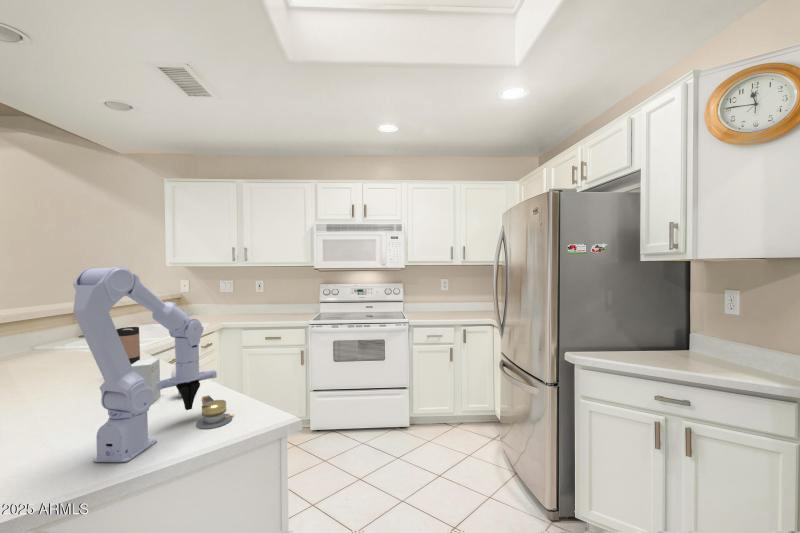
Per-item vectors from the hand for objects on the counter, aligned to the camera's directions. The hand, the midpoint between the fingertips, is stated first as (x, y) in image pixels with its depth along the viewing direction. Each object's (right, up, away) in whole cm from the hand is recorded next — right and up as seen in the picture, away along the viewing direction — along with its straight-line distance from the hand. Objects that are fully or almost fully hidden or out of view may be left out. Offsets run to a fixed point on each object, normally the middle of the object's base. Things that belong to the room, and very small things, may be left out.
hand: (188, 408), depth 99 cm
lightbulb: (-13, -4, +19) cm, 23 cm away
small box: (-23, -4, +15) cm, 28 cm away
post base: (+8, -3, -1) cm, 9 cm away
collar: (+6, -1, +1) cm, 6 cm away
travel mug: (-48, -5, +40) cm, 63 cm away
